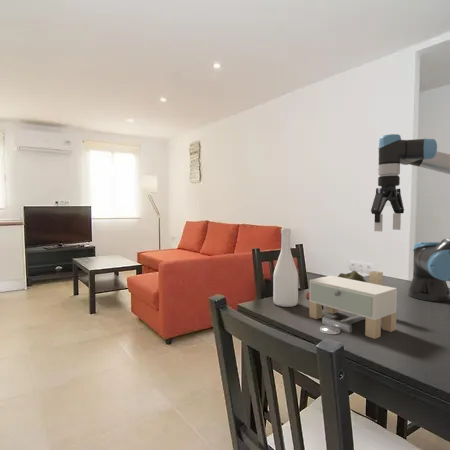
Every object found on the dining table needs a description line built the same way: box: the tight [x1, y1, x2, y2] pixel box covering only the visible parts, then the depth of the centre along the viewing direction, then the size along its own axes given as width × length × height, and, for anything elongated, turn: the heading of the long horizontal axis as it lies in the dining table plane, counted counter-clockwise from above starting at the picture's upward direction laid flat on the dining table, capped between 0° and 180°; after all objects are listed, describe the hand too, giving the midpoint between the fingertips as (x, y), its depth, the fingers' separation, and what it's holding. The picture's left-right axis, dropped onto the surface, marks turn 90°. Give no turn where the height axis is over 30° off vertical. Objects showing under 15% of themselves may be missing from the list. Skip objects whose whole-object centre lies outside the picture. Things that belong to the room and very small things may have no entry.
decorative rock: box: [337, 270, 367, 282], centre depth 145 cm, size 15×16×10 cm
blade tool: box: [321, 270, 384, 334], centre depth 112 cm, size 26×10×15 cm, turn 126°
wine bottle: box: [272, 227, 299, 308], centre depth 130 cm, size 10×10×30 cm
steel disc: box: [319, 324, 341, 335], centre depth 103 cm, size 6×6×1 cm
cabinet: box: [308, 275, 398, 340], centre depth 109 cm, size 14×24×13 cm, turn 36°
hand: (387, 230), depth 130 cm, fingers open, 13 cm apart
